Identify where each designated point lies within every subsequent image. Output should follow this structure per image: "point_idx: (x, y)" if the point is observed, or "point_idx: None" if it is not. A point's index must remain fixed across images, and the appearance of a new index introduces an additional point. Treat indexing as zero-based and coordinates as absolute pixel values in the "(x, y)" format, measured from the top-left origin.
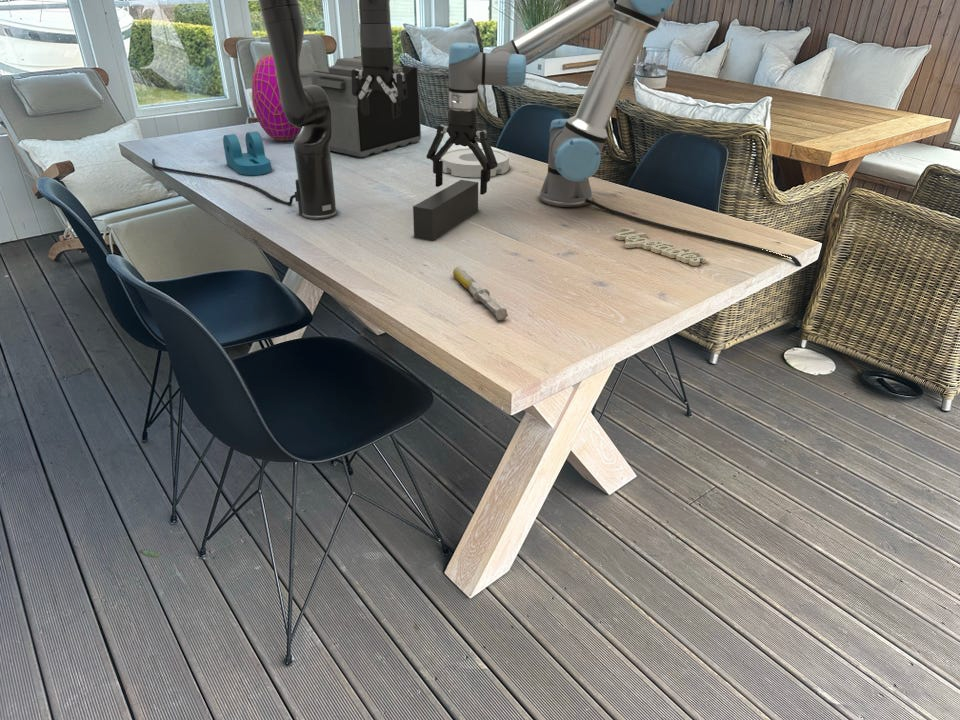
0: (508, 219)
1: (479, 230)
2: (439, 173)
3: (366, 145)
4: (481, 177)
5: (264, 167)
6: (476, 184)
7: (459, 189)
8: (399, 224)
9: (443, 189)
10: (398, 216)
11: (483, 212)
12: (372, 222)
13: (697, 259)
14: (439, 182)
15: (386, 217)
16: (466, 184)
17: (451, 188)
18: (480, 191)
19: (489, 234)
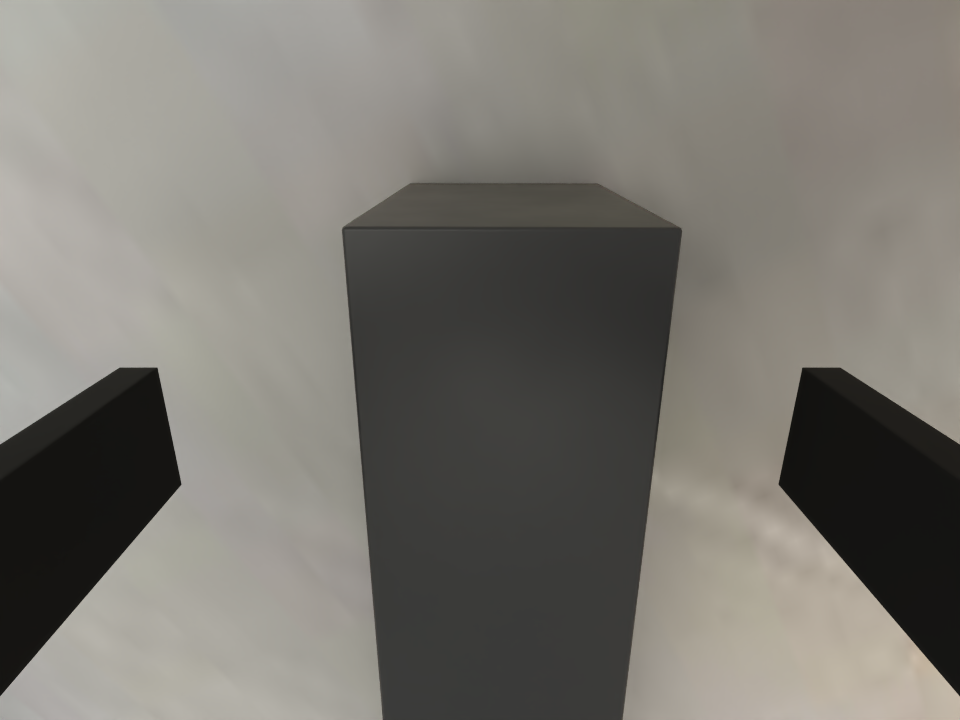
0: (943, 281)
1: (763, 583)
2: (65, 565)
3: None
4: (946, 658)
5: None
6: (668, 299)
7: (557, 636)
8: (225, 680)
9: (384, 701)
10: (109, 573)
11: (663, 203)
12: (63, 710)
13: None
14: (149, 476)
15: None
16: (549, 422)
17: (448, 640)
18: (803, 507)
19: (851, 617)
